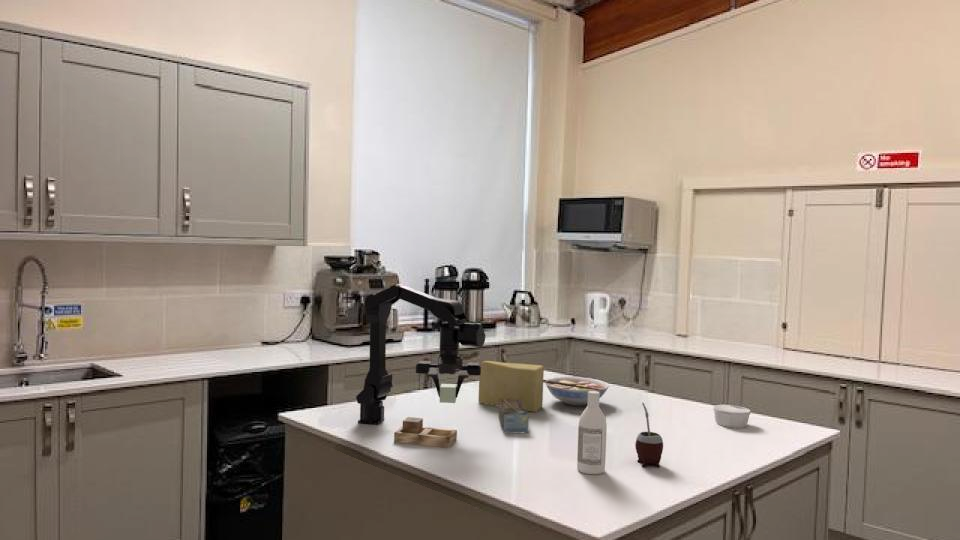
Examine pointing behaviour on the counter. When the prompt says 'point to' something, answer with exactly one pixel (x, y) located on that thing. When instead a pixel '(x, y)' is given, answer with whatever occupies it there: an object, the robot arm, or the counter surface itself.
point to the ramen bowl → (574, 389)
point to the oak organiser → (427, 437)
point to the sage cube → (448, 393)
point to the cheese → (511, 383)
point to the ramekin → (731, 416)
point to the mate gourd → (649, 446)
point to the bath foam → (592, 437)
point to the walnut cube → (413, 425)
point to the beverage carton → (513, 415)
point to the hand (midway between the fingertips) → (448, 397)
